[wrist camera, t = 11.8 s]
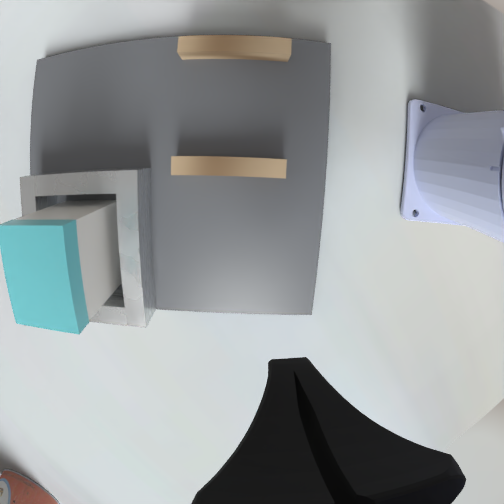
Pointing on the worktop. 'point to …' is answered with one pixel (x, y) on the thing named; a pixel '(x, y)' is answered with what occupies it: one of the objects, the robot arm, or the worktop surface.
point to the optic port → (129, 232)
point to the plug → (61, 263)
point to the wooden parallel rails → (232, 50)
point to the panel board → (200, 144)
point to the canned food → (22, 490)
